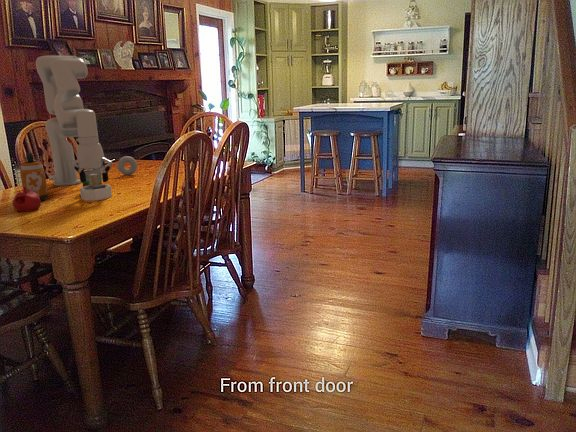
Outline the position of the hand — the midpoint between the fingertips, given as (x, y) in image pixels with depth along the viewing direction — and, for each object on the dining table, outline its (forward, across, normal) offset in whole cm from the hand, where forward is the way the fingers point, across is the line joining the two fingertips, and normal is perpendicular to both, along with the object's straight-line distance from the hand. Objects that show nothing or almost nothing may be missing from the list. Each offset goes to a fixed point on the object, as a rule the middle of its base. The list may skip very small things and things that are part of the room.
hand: (94, 181), depth 207 cm
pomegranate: (+7, -18, -20) cm, 28 cm away
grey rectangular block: (+6, 0, 0) cm, 6 cm away
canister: (+7, -25, -3) cm, 26 cm away
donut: (+7, -8, +51) cm, 52 cm away
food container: (+7, -7, +14) cm, 17 cm away
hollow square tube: (+7, 0, 0) cm, 7 cm away
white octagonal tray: (+7, 0, 0) cm, 7 cm away
